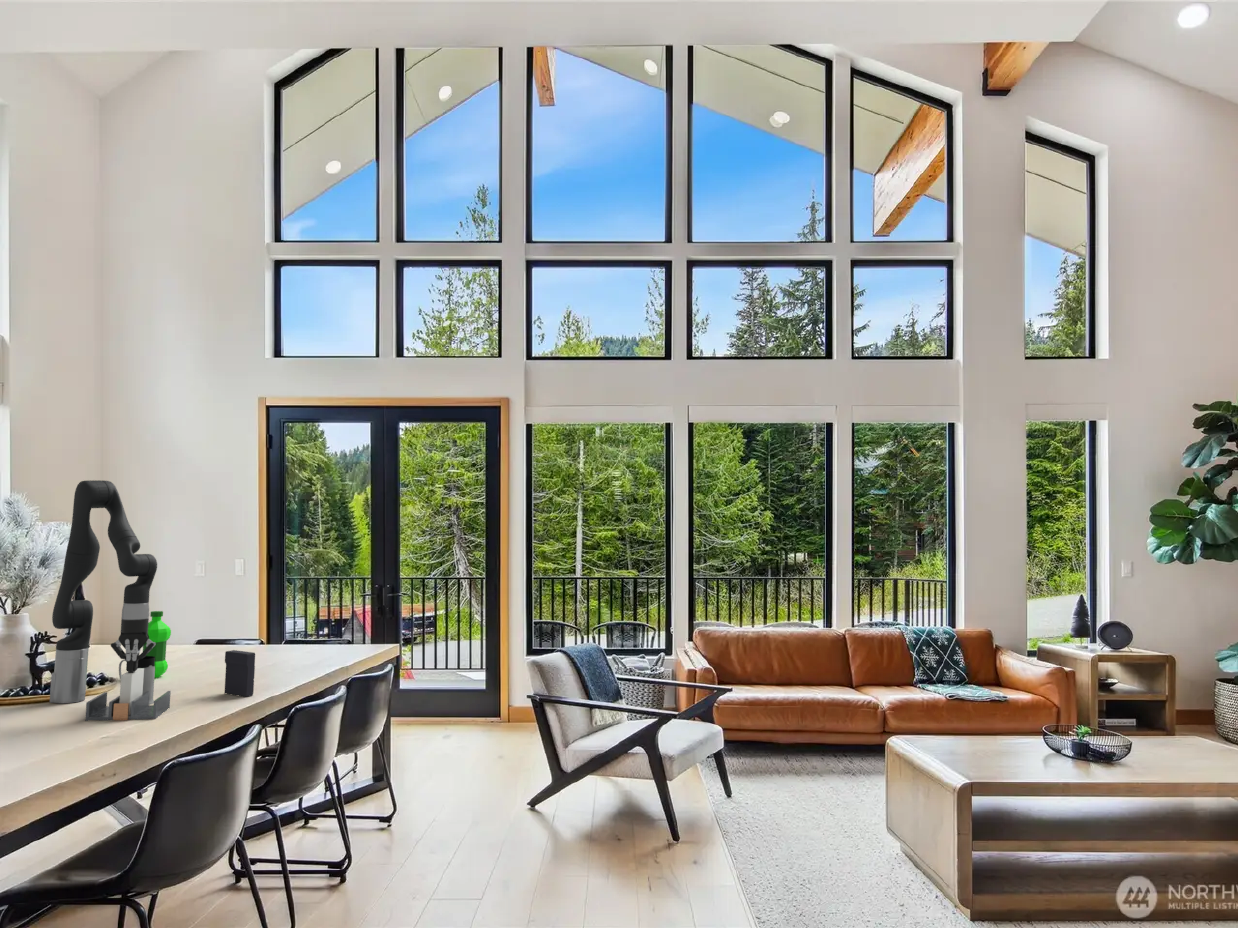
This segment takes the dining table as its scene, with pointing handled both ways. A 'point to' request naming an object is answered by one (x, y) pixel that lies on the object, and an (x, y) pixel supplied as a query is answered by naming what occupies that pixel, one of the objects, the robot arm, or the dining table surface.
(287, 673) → the dining table surface
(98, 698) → the rack
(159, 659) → the plastic bottle
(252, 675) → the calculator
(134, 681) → the panel
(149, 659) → the tall mug
